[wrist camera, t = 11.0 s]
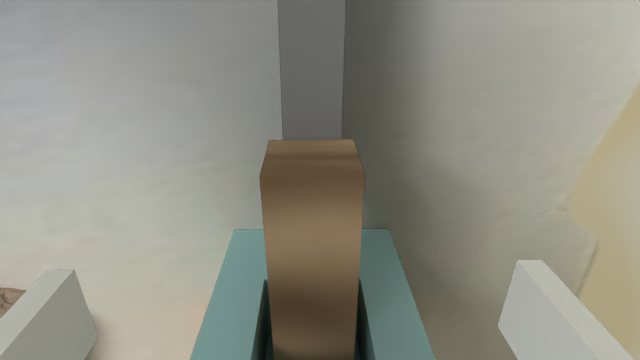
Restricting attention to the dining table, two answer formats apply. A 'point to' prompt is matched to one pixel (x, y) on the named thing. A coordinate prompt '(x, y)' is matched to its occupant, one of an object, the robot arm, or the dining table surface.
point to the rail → (311, 68)
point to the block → (255, 318)
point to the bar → (312, 246)
